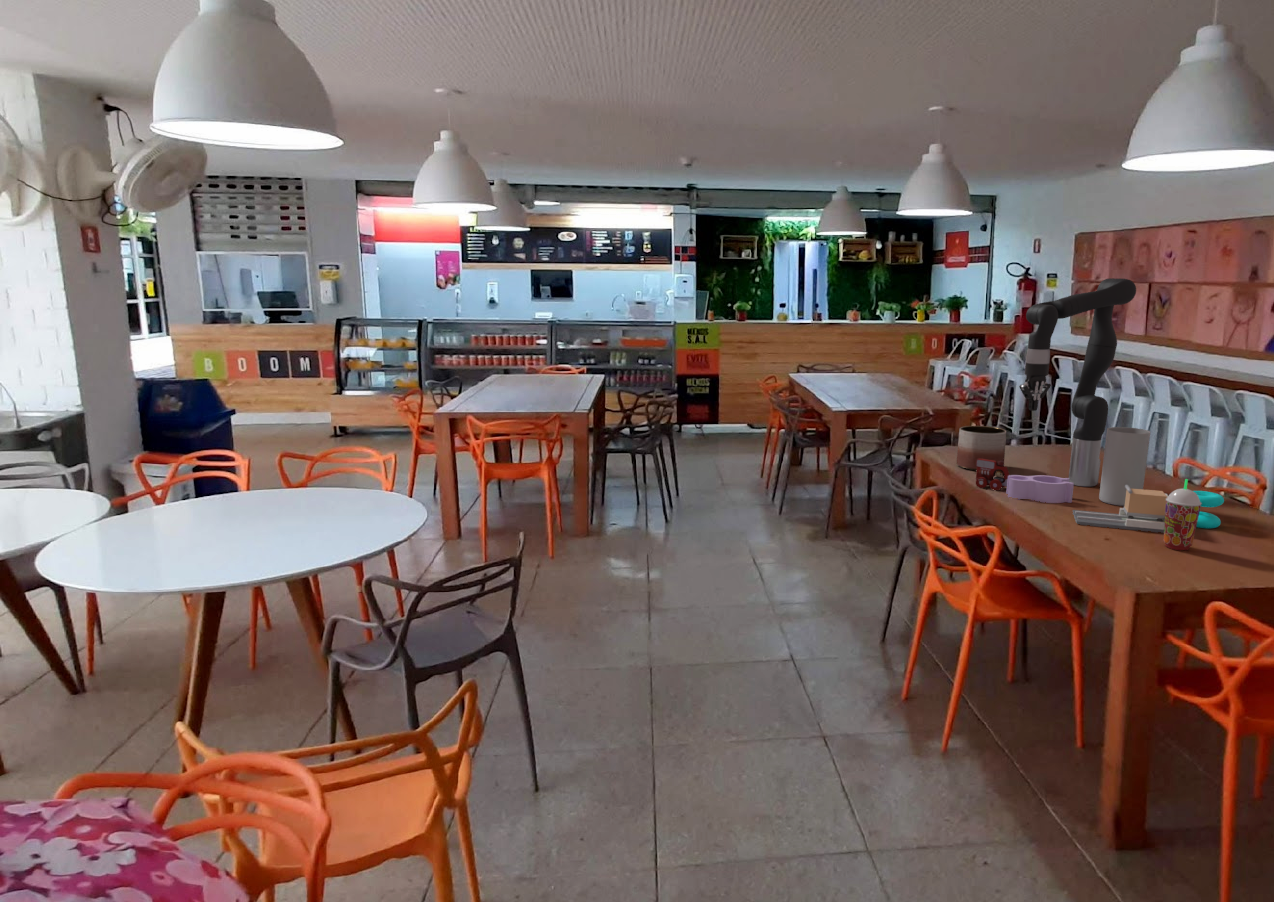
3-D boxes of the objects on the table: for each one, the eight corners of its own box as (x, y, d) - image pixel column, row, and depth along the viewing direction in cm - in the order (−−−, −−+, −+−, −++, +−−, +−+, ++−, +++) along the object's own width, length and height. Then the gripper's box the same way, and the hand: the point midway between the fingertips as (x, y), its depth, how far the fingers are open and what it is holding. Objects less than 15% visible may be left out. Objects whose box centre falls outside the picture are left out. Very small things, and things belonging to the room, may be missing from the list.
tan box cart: (1121, 514, 254) (1125, 484, 252) (1159, 517, 250) (1163, 487, 248) (1125, 520, 247) (1128, 490, 245) (1164, 524, 243) (1168, 493, 241)
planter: (1006, 465, 330) (1010, 428, 326) (999, 474, 315) (1003, 435, 312) (961, 460, 339) (963, 424, 336) (952, 469, 324) (955, 430, 321)
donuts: (1184, 488, 254) (1223, 492, 249) (1180, 518, 256) (1218, 523, 251) (1185, 495, 246) (1226, 499, 240) (1181, 526, 248) (1221, 531, 242)
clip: (1009, 500, 278) (1011, 481, 277) (1004, 491, 290) (1006, 473, 288) (1073, 505, 272) (1075, 485, 271) (1065, 495, 284) (1067, 476, 283)
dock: (1072, 512, 263) (1075, 486, 261) (1162, 521, 253) (1166, 493, 251) (1076, 524, 250) (1079, 496, 248) (1171, 533, 240) (1175, 504, 238)
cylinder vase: (1102, 505, 271) (1111, 432, 266) (1095, 496, 283) (1103, 426, 278) (1145, 508, 267) (1154, 434, 262) (1136, 499, 279) (1145, 428, 273)
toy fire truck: (1005, 492, 288) (1007, 464, 286) (970, 486, 297) (973, 459, 294) (1012, 489, 293) (1015, 461, 291) (978, 483, 302) (980, 456, 299)
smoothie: (1152, 543, 232) (1161, 476, 228) (1179, 542, 232) (1189, 475, 228) (1174, 552, 224) (1183, 483, 219) (1202, 551, 224) (1212, 482, 220)
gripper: (1032, 363, 278) (1027, 413, 281) (1060, 362, 282) (1055, 410, 286) (1014, 361, 284) (1010, 410, 288) (1042, 360, 289) (1037, 407, 293)
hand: (1032, 410), depth 287 cm, fingers closed
